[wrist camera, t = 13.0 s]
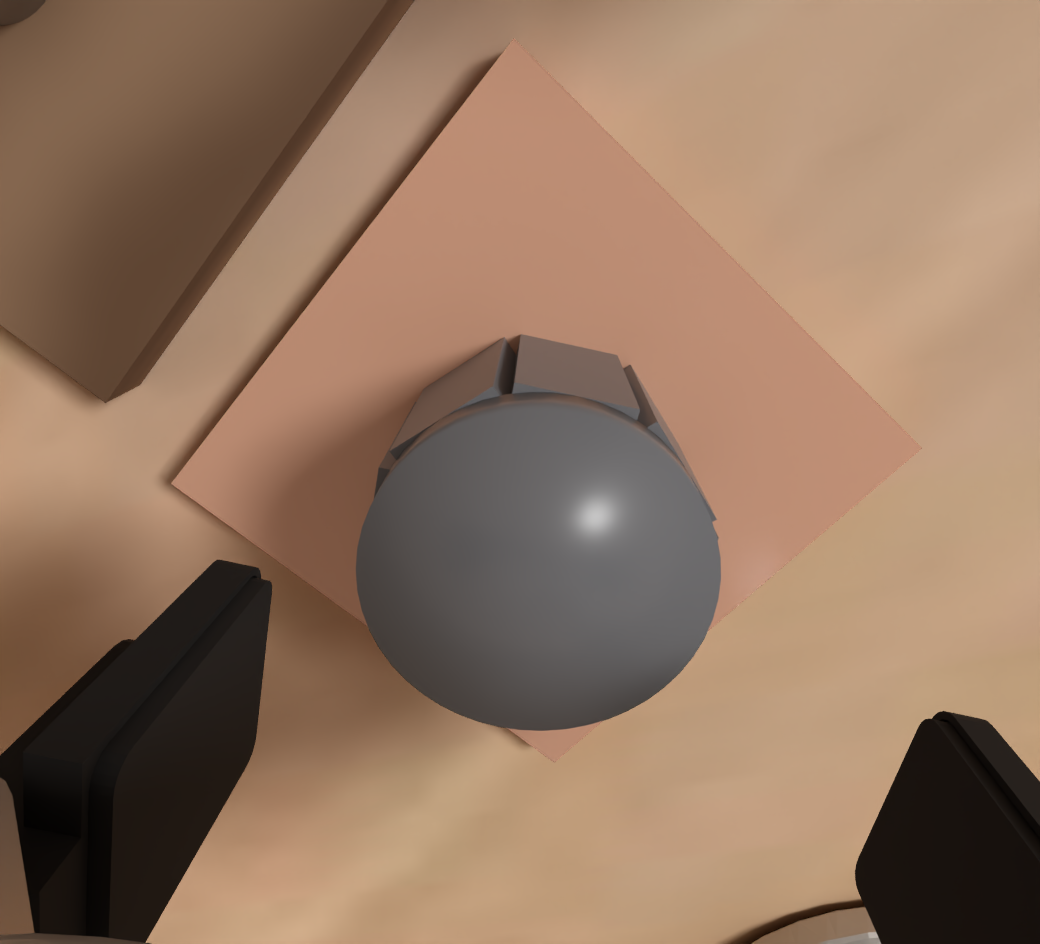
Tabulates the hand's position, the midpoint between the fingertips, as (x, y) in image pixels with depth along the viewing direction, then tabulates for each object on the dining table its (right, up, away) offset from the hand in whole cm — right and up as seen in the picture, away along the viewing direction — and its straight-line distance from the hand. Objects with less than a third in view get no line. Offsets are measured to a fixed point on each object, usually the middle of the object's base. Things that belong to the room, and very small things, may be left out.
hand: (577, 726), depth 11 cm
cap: (0, +4, +6) cm, 7 cm away
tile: (0, +4, +7) cm, 8 cm away
